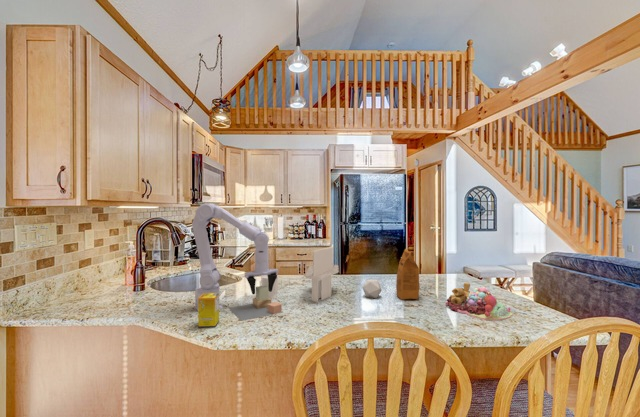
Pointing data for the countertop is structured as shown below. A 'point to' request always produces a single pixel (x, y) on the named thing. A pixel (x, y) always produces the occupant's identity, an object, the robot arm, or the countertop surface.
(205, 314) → the supplement box
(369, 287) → the die
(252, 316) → the mat
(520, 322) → the countertop surface
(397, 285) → the coffee package
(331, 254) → the upright slab stand
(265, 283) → the white cup
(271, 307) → the block
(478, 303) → the dessert platter
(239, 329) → the countertop surface
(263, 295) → the sage block
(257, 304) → the base block
